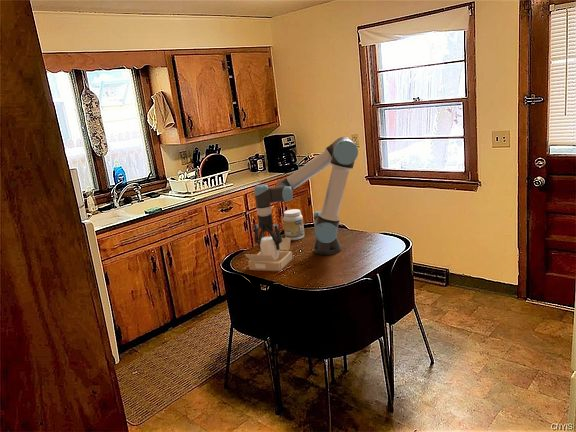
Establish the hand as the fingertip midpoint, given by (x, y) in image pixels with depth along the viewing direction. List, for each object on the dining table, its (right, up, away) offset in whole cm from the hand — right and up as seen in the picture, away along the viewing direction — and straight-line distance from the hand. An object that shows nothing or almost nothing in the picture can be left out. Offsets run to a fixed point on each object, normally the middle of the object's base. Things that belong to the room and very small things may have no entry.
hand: (270, 255), depth 248 cm
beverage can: (0, -3, +1) cm, 3 cm away
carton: (+1, -5, +1) cm, 5 cm away
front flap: (-4, -1, -10) cm, 11 cm away
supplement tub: (+14, +7, +41) cm, 44 cm away
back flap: (+4, +6, +8) cm, 11 cm away
